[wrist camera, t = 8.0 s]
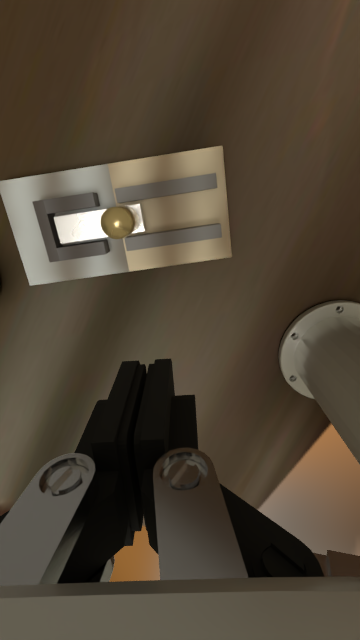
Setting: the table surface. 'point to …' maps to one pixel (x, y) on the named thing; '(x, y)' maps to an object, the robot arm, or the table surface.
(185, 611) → the robot arm
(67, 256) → the lock board
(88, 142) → the table surface
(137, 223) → the bolt
